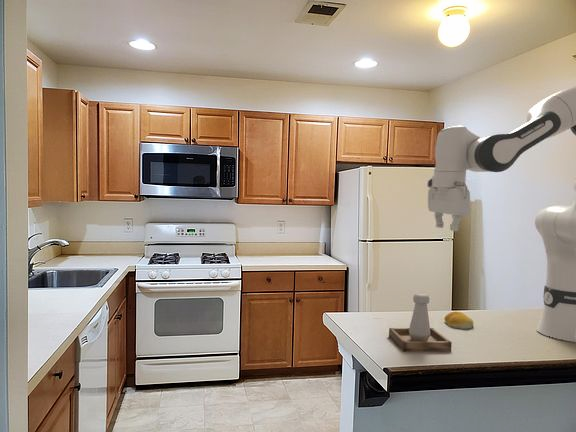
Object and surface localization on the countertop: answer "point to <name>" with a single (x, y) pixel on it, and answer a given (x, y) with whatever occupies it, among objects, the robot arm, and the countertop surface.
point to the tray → (406, 344)
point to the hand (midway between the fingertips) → (446, 229)
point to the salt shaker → (420, 319)
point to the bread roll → (458, 320)
